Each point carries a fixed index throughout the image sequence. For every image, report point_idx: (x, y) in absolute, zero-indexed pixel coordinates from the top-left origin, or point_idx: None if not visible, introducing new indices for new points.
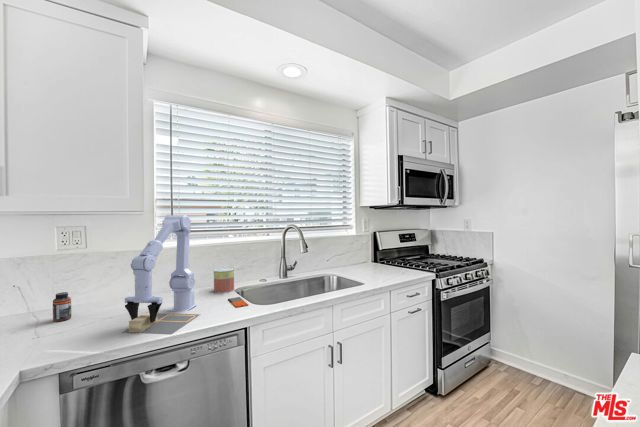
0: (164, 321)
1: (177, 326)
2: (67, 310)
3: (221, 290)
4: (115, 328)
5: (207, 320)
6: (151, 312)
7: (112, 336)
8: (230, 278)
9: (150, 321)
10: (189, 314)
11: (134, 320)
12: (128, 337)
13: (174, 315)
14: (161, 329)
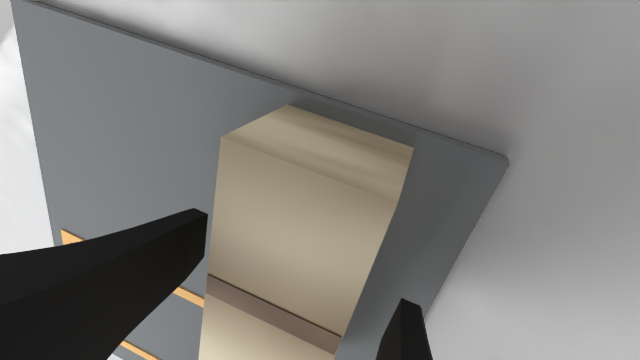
0: None
1: (70, 167)
2: None
3: None
4: (632, 341)
5: (5, 238)
6: (63, 253)
7: (605, 101)
8: None
9: (196, 215)
10: (125, 356)
11: (327, 219)
12: (380, 27)
13: None
14: (143, 135)
